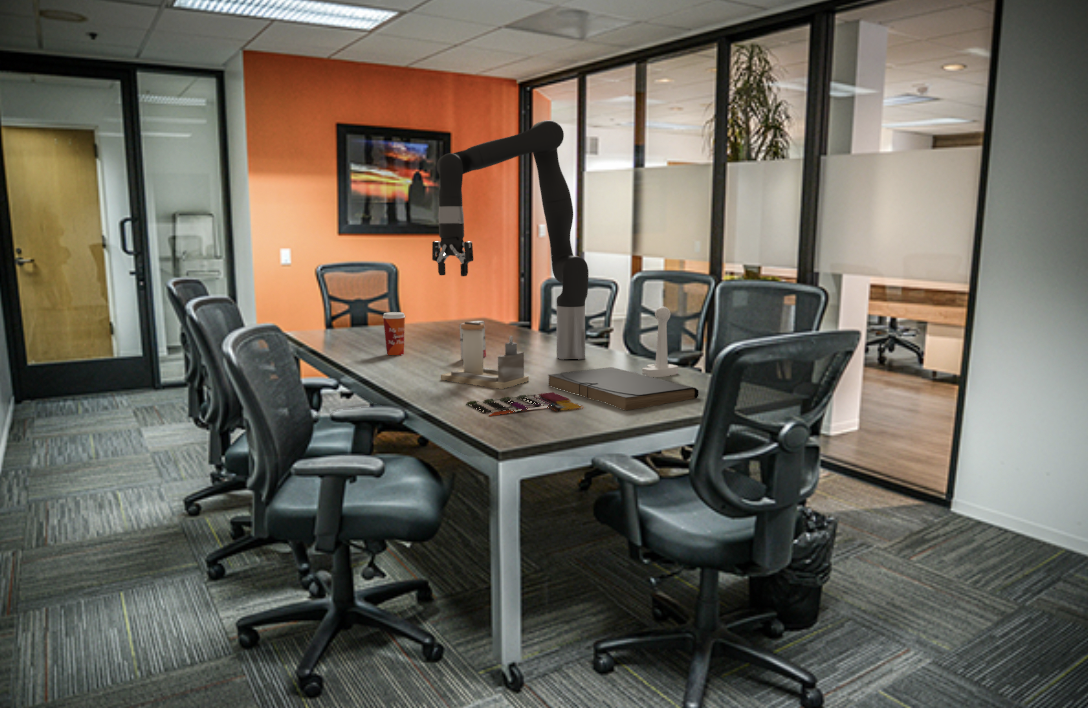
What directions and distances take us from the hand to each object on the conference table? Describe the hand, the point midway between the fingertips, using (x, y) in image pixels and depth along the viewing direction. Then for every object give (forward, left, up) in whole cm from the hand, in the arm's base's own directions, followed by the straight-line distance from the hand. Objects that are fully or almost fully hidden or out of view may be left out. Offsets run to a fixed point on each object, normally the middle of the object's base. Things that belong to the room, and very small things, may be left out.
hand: (453, 275), depth 233 cm
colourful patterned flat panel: (-24, +54, -29) cm, 65 cm away
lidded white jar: (-8, +21, -26) cm, 35 cm away
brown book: (-48, +38, -29) cm, 68 cm away
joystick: (-61, +14, -28) cm, 69 cm away
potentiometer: (-19, +29, -19) cm, 40 cm away
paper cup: (+23, -19, -28) cm, 41 cm away
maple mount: (-11, +24, -28) cm, 38 cm away
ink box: (-4, -12, -28) cm, 31 cm away
